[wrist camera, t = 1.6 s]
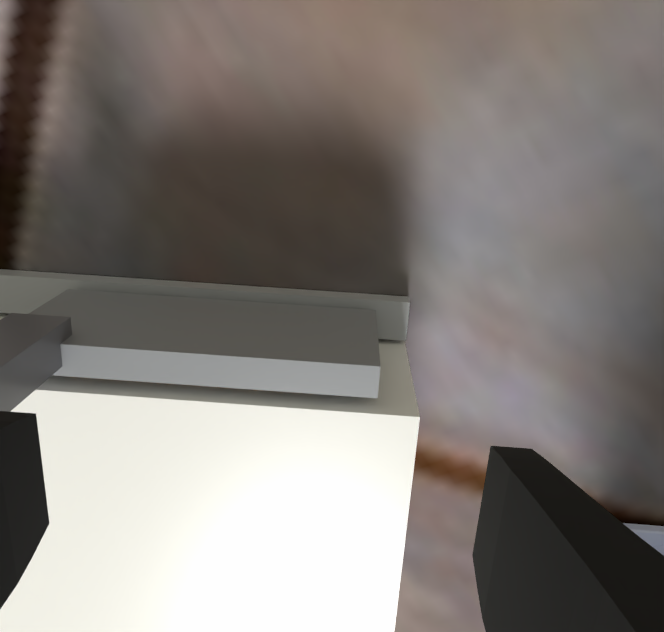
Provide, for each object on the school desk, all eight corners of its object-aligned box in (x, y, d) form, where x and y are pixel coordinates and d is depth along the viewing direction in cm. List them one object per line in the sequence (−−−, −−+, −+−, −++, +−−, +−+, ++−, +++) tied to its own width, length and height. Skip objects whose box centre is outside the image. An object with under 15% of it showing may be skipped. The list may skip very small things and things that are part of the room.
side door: (377, 295, 17) (389, 419, 10) (373, 335, 17) (382, 480, 11) (66, 274, 17) (-126, 381, 10) (70, 314, 18) (-112, 444, 11)
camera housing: (408, 296, 18) (426, 363, 13) (382, 548, 21) (388, 675, 16) (-240, 252, 18) (-448, 302, 14) (-172, 506, 21) (-323, 618, 17)
